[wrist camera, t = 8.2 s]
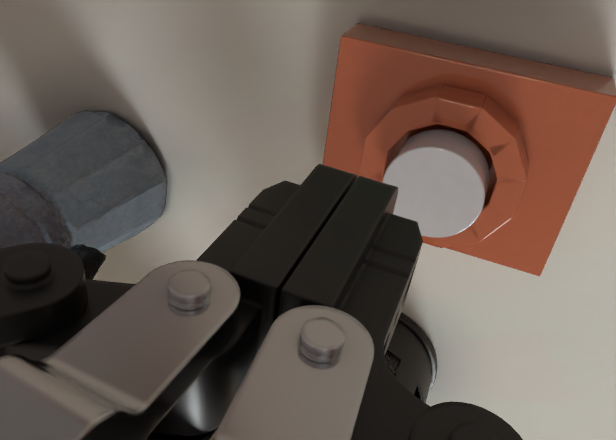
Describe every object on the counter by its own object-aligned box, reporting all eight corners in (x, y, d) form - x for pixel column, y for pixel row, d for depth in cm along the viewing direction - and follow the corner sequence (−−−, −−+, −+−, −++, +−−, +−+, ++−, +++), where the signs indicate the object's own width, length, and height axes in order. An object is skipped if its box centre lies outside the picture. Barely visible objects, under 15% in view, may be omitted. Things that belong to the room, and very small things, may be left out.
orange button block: (331, 187, 33) (303, 225, 30) (357, 22, 28) (327, 45, 25) (541, 248, 31) (538, 298, 27) (614, 77, 25) (622, 112, 22)
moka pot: (10, 99, 39) (-366, 255, 23) (201, 100, 34) (-122, 306, 18) (55, 219, 44) (-233, 418, 28) (231, 238, 38) (-6, 499, 22)
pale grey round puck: (384, 201, 28) (373, 221, 26) (402, 117, 25) (391, 135, 24) (474, 227, 27) (468, 250, 25) (502, 143, 24) (498, 162, 23)
